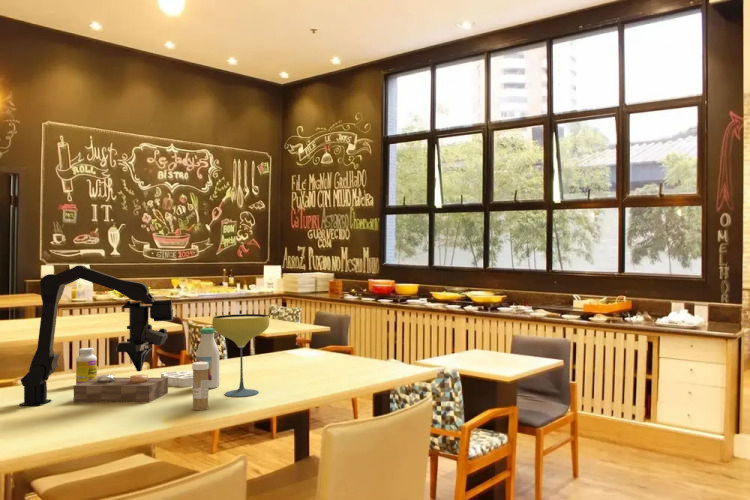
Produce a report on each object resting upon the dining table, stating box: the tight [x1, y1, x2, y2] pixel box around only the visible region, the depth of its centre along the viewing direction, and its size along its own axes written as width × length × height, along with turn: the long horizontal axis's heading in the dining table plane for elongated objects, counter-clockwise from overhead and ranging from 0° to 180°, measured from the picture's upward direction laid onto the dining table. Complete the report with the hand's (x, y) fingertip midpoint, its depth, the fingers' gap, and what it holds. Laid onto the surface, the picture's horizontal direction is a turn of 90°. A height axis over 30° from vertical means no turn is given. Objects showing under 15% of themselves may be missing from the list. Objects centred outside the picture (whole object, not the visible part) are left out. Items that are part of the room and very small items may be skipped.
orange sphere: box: [129, 374, 149, 383], centre depth 195 cm, size 5×5×5 cm
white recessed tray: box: [160, 370, 193, 388], centre depth 220 cm, size 3×18×15 cm
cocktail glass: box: [211, 313, 270, 398], centre depth 199 cm, size 18×18×25 cm
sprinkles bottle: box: [191, 361, 209, 411], centre depth 178 cm, size 5×5×13 cm
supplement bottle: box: [75, 347, 98, 385], centre depth 217 cm, size 7×7×13 cm
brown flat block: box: [73, 377, 169, 403], centre depth 195 cm, size 14×24×5 cm, turn 86°
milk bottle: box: [195, 327, 221, 389], centre depth 211 cm, size 8×8×20 cm
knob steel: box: [96, 374, 115, 383], centre depth 196 cm, size 5×5×5 cm
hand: (139, 371), depth 195 cm, fingers closed
